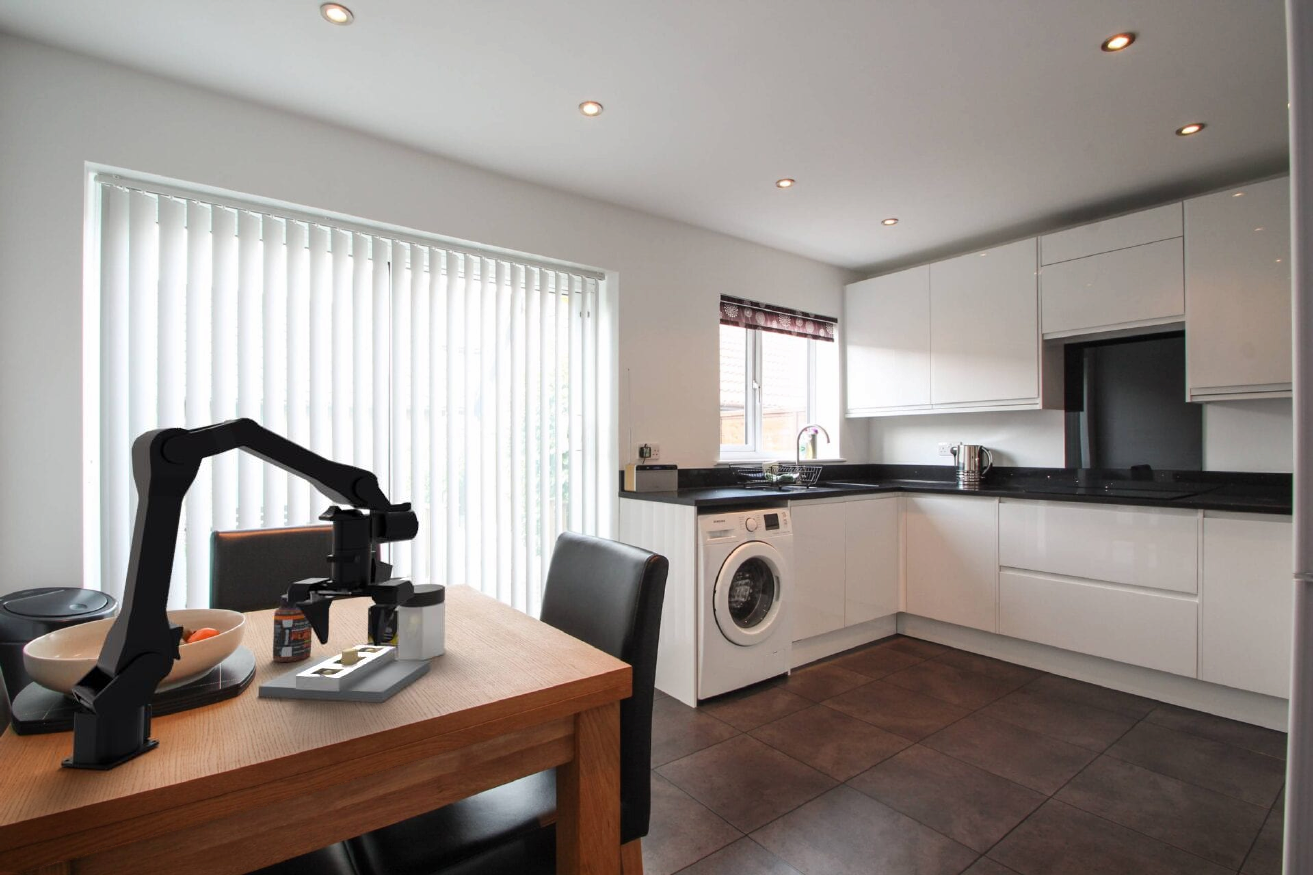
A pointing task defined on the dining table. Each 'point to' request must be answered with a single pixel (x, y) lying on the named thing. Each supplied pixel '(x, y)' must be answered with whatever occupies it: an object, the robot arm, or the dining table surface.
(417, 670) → the post base
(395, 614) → the medicine bottle
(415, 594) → the jar
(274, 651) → the supplement bottle
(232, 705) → the dining table surface
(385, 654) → the white slotted frame
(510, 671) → the dining table surface
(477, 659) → the dining table surface
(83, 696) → the robot arm
